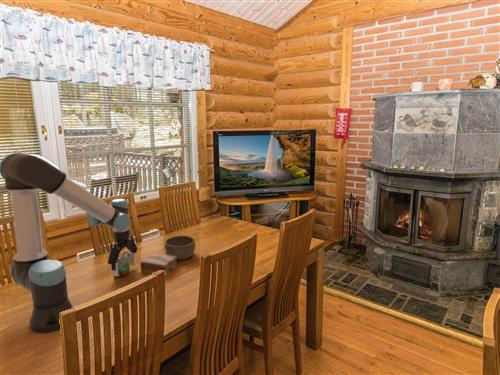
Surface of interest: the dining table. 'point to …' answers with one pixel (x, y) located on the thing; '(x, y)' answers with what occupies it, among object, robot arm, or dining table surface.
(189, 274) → the dining table surface
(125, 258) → the food container
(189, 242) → the bowl
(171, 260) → the walnut block
